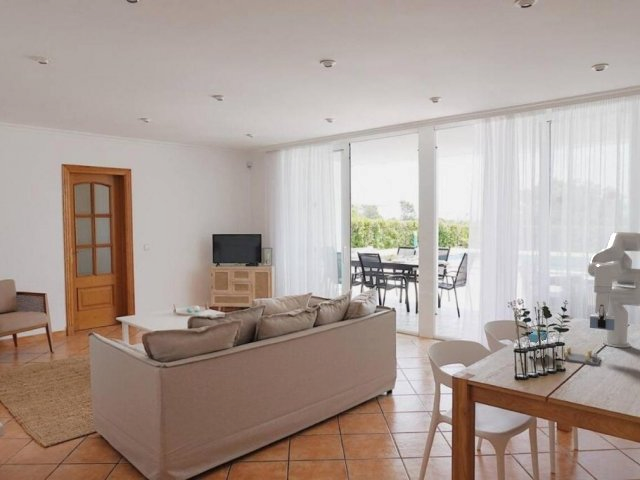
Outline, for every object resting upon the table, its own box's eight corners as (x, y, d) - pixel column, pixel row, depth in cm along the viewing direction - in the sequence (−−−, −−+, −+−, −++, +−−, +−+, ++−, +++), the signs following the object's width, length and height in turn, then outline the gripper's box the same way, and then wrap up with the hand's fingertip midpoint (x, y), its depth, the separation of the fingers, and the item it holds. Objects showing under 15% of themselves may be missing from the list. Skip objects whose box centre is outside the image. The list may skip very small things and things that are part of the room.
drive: (590, 326, 234) (591, 314, 234) (614, 329, 229) (614, 316, 228) (589, 327, 231) (590, 315, 231) (613, 330, 225) (614, 318, 225)
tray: (559, 353, 238) (559, 345, 238) (600, 359, 228) (600, 351, 227) (555, 359, 228) (555, 350, 228) (597, 365, 218) (598, 357, 218)
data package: (537, 359, 228) (537, 334, 228) (527, 357, 232) (528, 333, 231) (547, 354, 236) (547, 330, 236) (538, 352, 240) (538, 329, 239)
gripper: (595, 287, 238) (595, 322, 239) (592, 291, 224) (591, 329, 225) (613, 288, 234) (612, 324, 234) (610, 292, 220) (609, 331, 221)
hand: (602, 326), depth 230 cm, fingers closed on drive, 4 cm apart
